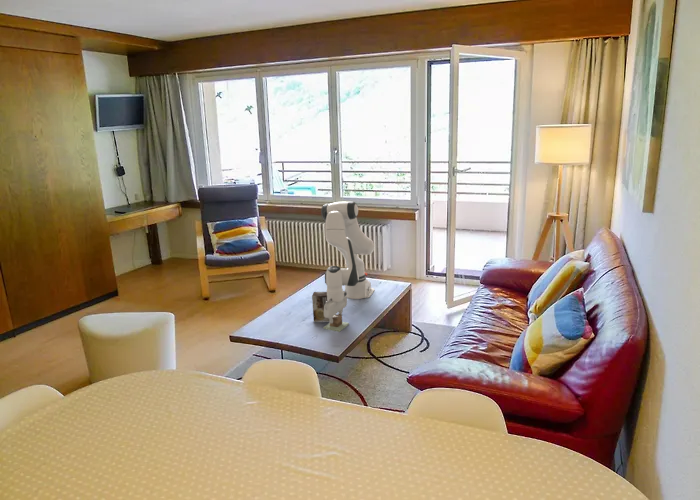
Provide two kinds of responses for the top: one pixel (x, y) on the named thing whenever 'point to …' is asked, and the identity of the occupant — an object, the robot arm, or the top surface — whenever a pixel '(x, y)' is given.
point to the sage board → (336, 327)
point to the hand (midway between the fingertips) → (335, 319)
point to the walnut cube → (336, 320)
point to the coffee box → (319, 306)
